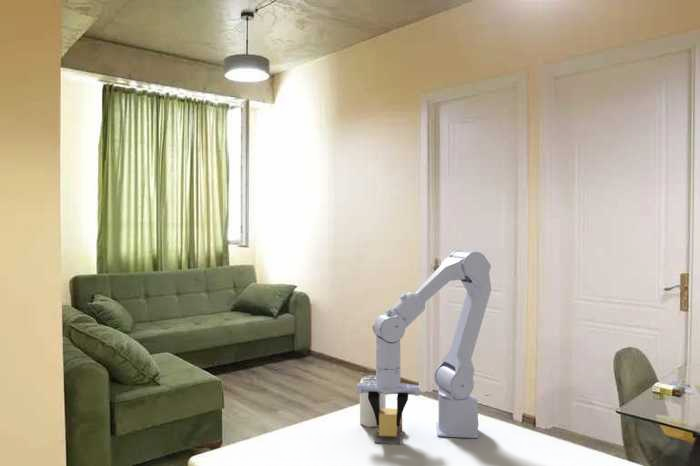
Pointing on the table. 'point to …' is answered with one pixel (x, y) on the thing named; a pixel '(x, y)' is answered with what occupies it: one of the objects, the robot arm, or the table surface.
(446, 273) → the robot arm
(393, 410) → the ochre block
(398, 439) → the coaster
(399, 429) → the cork cylinder
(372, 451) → the table surface
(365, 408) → the can
